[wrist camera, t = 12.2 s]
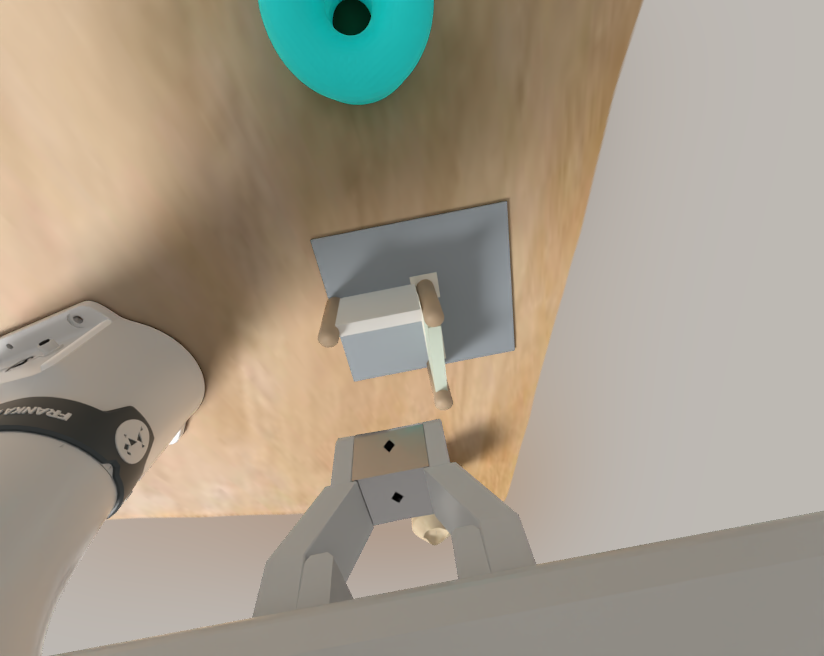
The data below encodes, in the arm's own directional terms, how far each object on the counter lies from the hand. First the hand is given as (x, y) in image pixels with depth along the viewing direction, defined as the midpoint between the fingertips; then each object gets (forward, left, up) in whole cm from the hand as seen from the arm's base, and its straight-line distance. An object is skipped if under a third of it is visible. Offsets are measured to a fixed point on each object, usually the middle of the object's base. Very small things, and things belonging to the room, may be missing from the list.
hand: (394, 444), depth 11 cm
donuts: (+1, +14, -29) cm, 33 cm away
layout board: (+2, -9, -29) cm, 31 cm away
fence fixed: (-2, -8, -29) cm, 30 cm away
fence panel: (+3, -14, -29) cm, 32 cm away
